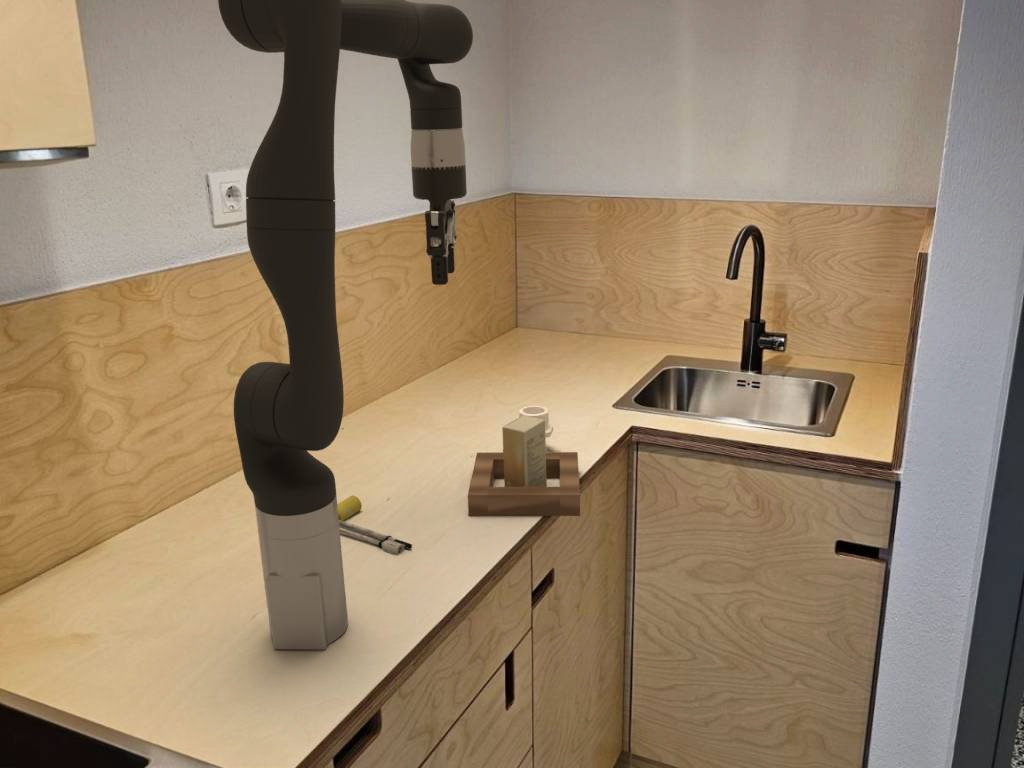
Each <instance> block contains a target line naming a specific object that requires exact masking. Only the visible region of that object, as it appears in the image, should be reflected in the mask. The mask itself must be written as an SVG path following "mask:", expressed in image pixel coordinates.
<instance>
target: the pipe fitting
mask: <svg viewBox="0 0 1024 768" xmlns="http://www.w3.org/2000/svg"><path fill="white" fill-rule="evenodd" d="M549 415H550V414H549V409H548V408H547V407H544V406H540V405H529V406H525V407H521V409H519V410H518V418H520V417H522V416H529V417H534V418H538V419H543V420H545V437H546V438H550V437H551V436H552V434H553V432H554V424H551V423H549V420H550V419H549V418H550V417H549Z"/></svg>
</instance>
